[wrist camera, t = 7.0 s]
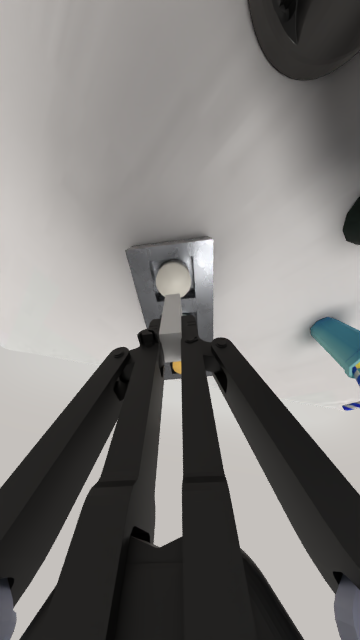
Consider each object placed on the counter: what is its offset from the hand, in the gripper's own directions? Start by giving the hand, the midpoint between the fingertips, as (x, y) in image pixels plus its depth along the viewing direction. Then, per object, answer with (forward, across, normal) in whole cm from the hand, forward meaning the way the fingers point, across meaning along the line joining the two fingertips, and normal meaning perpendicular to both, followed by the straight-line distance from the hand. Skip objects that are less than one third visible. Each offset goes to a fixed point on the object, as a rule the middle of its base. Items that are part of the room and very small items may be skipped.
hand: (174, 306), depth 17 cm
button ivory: (+11, 0, 0) cm, 11 cm away
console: (+13, 0, -9) cm, 15 cm away
